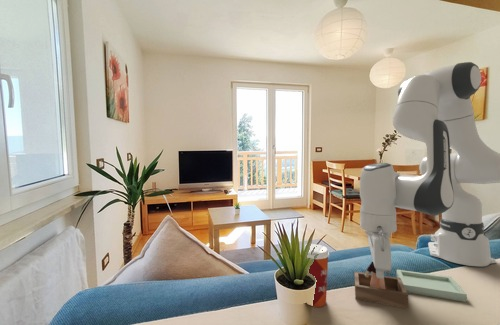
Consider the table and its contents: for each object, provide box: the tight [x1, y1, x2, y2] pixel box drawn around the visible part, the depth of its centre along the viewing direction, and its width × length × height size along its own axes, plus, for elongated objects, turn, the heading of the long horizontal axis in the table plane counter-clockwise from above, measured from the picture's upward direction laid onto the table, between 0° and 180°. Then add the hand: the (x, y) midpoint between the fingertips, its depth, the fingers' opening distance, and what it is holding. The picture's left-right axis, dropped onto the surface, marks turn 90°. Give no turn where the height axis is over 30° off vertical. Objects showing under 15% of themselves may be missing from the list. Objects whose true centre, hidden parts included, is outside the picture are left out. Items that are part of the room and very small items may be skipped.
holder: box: [354, 271, 409, 310], centre depth 66 cm, size 9×12×4 cm
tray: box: [396, 269, 468, 303], centre depth 69 cm, size 10×14×2 cm
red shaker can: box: [304, 243, 330, 308], centre depth 64 cm, size 8×8×14 cm
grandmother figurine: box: [365, 250, 391, 289], centre depth 66 cm, size 8×4×13 cm, turn 114°
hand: (378, 272), depth 66 cm, fingers open, 4 cm apart
